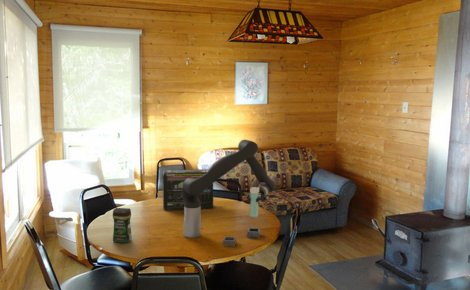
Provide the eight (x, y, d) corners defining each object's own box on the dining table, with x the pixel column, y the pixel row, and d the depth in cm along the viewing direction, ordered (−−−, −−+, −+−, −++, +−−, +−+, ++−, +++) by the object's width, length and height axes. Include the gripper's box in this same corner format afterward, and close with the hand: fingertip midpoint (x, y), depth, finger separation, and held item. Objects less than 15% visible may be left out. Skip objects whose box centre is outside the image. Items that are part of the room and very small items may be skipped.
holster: (222, 245, 225) (222, 240, 224) (224, 241, 231) (224, 236, 230) (234, 246, 224) (234, 241, 223) (236, 242, 230) (236, 237, 230)
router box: (212, 204, 305) (212, 168, 301) (213, 209, 294) (214, 171, 290) (162, 206, 299) (162, 169, 295) (162, 210, 288) (162, 172, 284)
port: (247, 237, 238) (247, 231, 237) (248, 233, 244) (248, 227, 244) (259, 238, 237) (259, 232, 236) (260, 234, 244) (260, 228, 243)
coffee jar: (110, 242, 227) (110, 209, 224) (117, 237, 234) (116, 205, 232) (127, 244, 225) (127, 210, 223) (133, 239, 233) (132, 206, 231)
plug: (249, 216, 238) (250, 182, 235) (251, 214, 242) (252, 181, 239) (256, 217, 236) (257, 183, 234) (258, 215, 240) (259, 181, 238)
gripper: (249, 186, 253) (241, 192, 237) (272, 188, 249) (265, 194, 232) (249, 198, 254) (241, 205, 238) (271, 200, 250) (265, 208, 233)
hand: (253, 200), depth 235 cm, fingers closed on plug, 3 cm apart
